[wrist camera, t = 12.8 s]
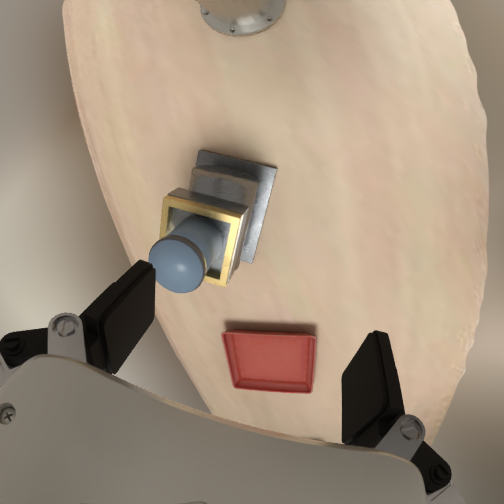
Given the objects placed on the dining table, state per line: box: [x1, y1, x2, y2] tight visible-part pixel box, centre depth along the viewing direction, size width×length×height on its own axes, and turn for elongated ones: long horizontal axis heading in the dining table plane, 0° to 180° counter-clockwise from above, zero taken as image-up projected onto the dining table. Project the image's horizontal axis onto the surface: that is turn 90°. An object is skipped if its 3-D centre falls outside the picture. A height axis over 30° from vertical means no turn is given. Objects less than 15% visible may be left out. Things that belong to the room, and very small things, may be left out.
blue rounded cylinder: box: [149, 217, 222, 293], centre depth 31 cm, size 6×6×7 cm
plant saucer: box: [221, 330, 317, 394], centre depth 57 cm, size 18×18×3 cm
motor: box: [159, 150, 277, 287], centre depth 39 cm, size 16×12×14 cm
